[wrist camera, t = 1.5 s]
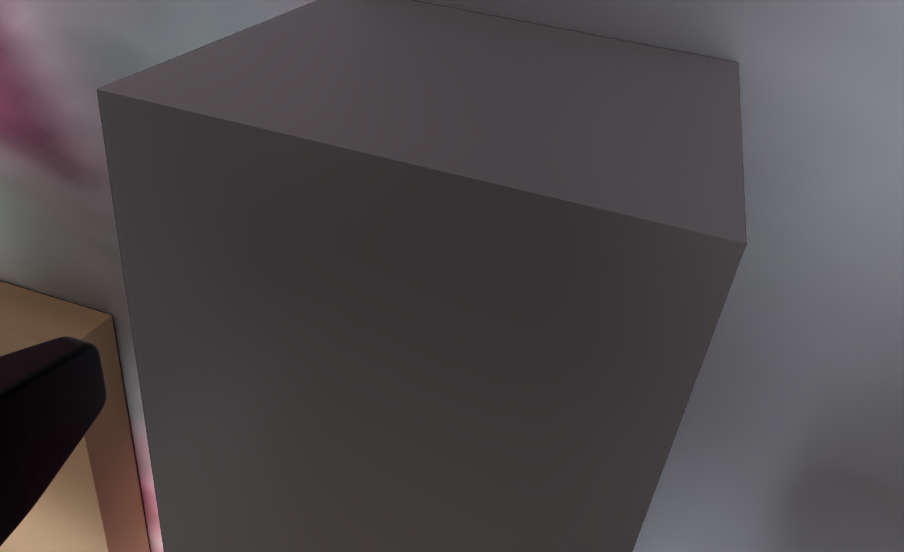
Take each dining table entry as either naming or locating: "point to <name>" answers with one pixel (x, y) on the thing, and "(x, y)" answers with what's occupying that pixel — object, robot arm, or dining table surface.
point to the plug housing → (420, 277)
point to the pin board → (96, 456)
